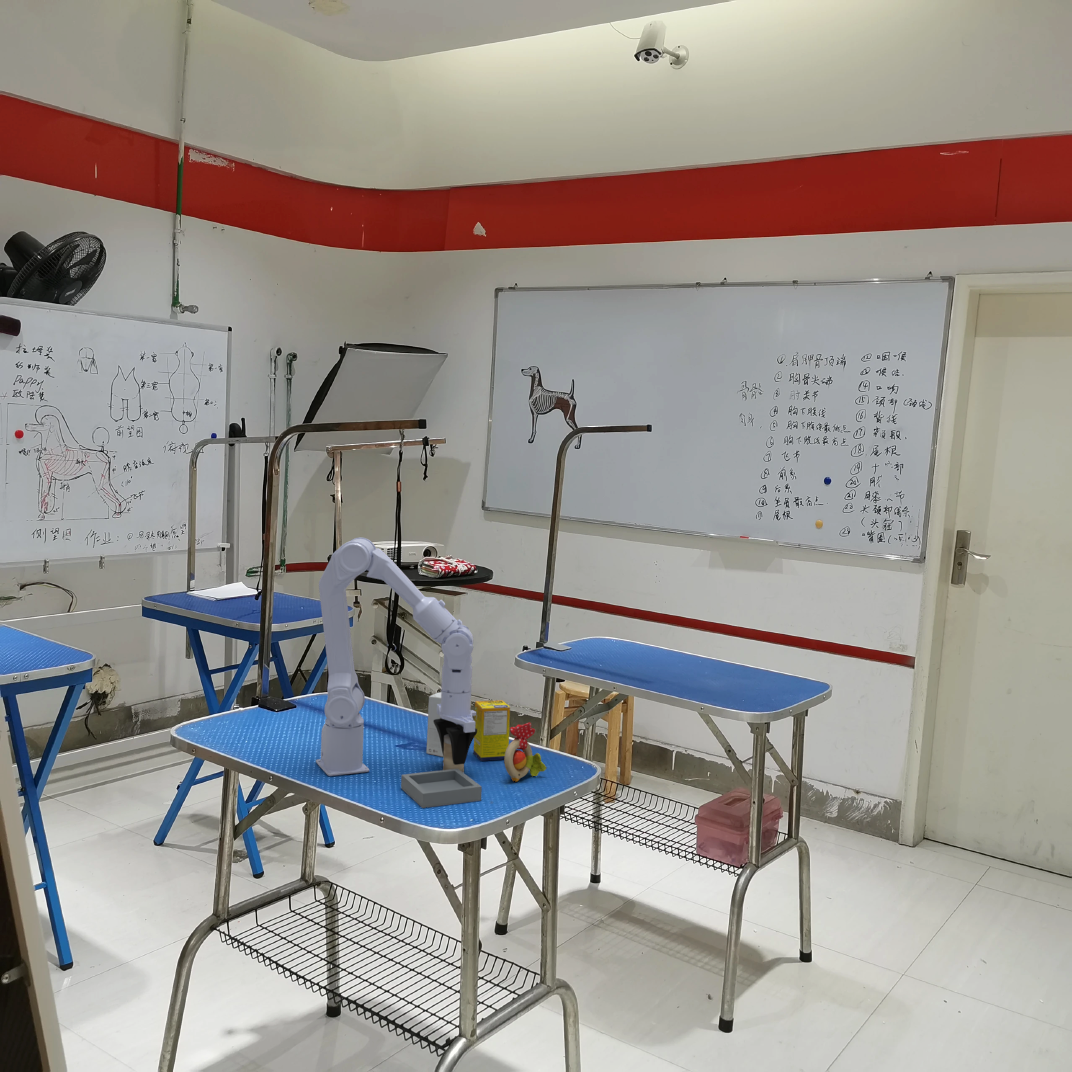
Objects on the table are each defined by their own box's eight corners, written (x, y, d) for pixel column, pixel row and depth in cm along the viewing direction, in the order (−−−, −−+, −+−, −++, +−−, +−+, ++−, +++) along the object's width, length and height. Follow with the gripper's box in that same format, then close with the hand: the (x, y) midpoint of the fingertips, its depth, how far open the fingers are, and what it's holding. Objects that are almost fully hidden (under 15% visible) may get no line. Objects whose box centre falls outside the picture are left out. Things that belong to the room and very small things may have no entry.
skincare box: (443, 757, 201) (445, 698, 201) (425, 753, 203) (427, 695, 202) (459, 750, 207) (461, 693, 206) (441, 746, 209) (443, 690, 208)
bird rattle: (529, 795, 187) (553, 766, 194) (517, 747, 182) (542, 718, 189) (501, 789, 190) (526, 760, 197) (489, 741, 186) (515, 713, 192)
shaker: (439, 770, 193) (441, 734, 193) (459, 768, 195) (460, 732, 194) (447, 776, 190) (448, 740, 189) (467, 774, 191) (468, 738, 191)
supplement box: (500, 751, 207) (502, 699, 206) (508, 760, 202) (511, 706, 201) (472, 753, 205) (474, 700, 205) (480, 761, 200) (482, 707, 199)
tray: (401, 788, 182) (401, 774, 181) (457, 781, 187) (457, 768, 186) (422, 808, 172) (422, 793, 172) (481, 800, 177) (481, 786, 177)
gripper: (491, 697, 186) (488, 768, 187) (461, 680, 199) (458, 747, 200) (456, 699, 183) (453, 772, 184) (427, 682, 196) (425, 750, 197)
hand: (453, 759), depth 192 cm, fingers open, 5 cm apart
